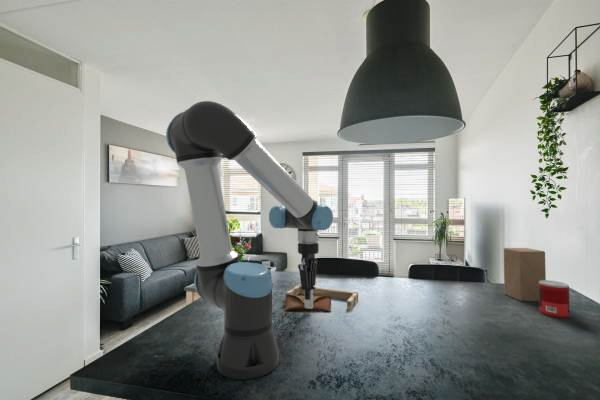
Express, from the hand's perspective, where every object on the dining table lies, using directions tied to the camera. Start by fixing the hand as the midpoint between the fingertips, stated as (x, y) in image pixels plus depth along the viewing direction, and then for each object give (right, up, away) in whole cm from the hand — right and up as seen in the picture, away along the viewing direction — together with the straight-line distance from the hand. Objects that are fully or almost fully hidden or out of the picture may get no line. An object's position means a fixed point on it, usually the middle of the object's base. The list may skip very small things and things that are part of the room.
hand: (308, 307), depth 103 cm
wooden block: (+90, -2, +15) cm, 91 cm away
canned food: (+86, -2, -3) cm, 86 cm away
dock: (+5, -2, +13) cm, 14 cm away
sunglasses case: (0, -2, +5) cm, 5 cm away
